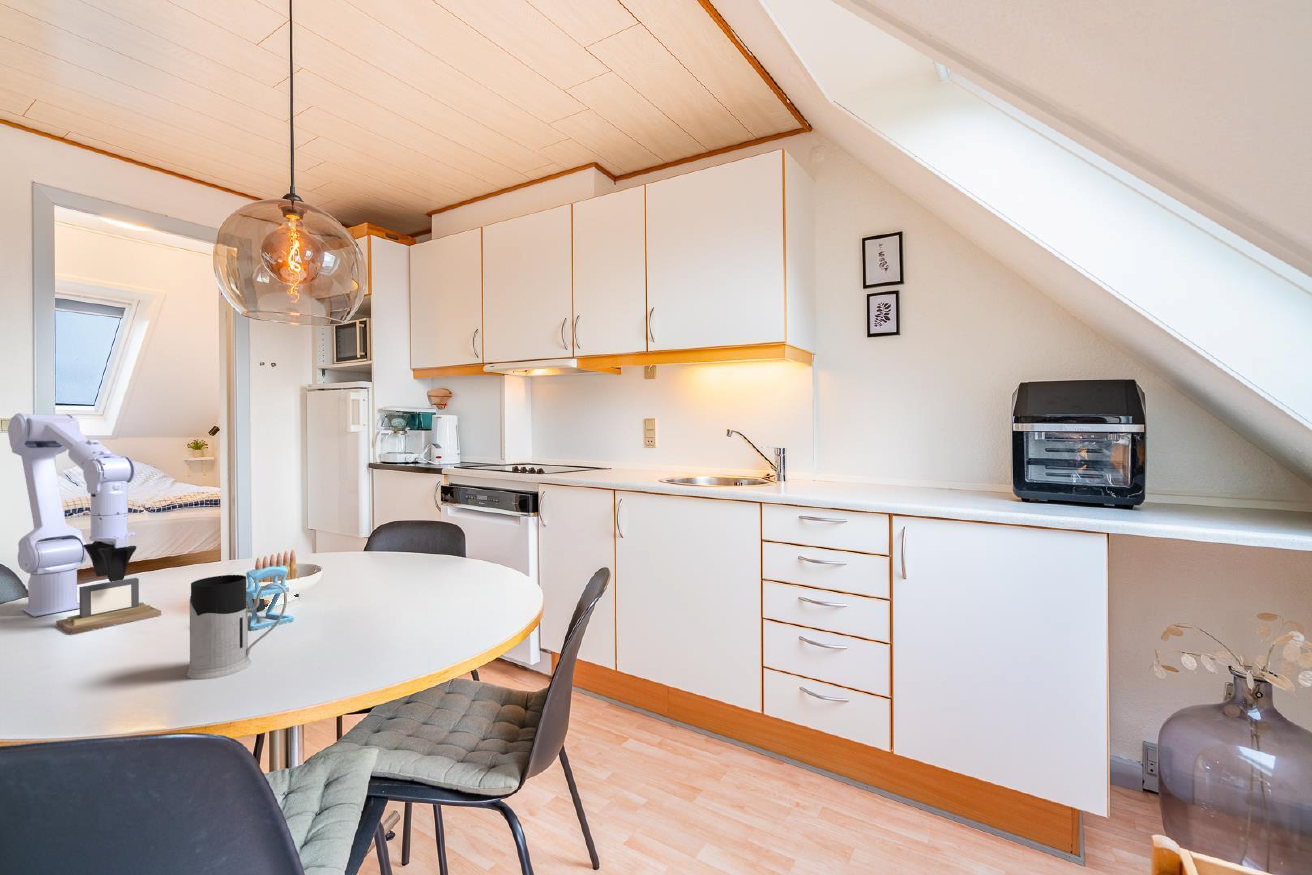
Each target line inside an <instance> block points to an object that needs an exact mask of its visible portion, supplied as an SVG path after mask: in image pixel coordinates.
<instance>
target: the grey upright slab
mask: <svg viewBox="0 0 1312 875" xmlns="http://www.w3.org/2000/svg"><path fill="white" fill-rule="evenodd" d="M139 579H140V578H138V577H131V578H127V579H126V578H125V579H123V580H118V581H112V582H110V581H108V582H102V583H96V584H91V585H89V584H88V585H84V586H79V591H78V592H79V595H78V596H79V603H80V608H79V615H80V618H85V617H90V616H95V615H100V614H105V613H110V612H115V611H120V610H125V609H130V608H135V607H139V603H140V598H139V597H140V586H139V584H140V580H139Z"/></svg>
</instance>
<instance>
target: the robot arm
mask: <svg viewBox="0 0 1312 875" xmlns="http://www.w3.org/2000/svg"><path fill="white" fill-rule="evenodd" d="M8 423H9V424H8V426H7V434H8V439H9V446H10V448H11V452H12V453H13V454H15V455H18V456H20V457H21V462H22V466H23V473H24V477H25V483H26V488H27V489H26V490H27V494H28V499H29V500H28V502H29V506H30V510H31V511H30V512H31V515H32V516H31V517H32V524H33V529H32V530H31V531H30V532H28V533H27V534H26V535H24V536H22V537H21V539H20V540H18V544H17V545H18V552H17V563H18V566H19V568H20V569H21V570H22V571H24V572H25V573H26V574H29V575H30V576H29V578H28V582H27V586H28V587H27V593H28V594H27V599H28V600H27V603H28V604H27V605H28V606H24V607H21V611H23V612H25V613H27V614H28V615H30V616H32V617H34V618H35V617H40V616H46V615H51V614H55V613H56V614H57V613H61V612H67V611H71V610H77V609H80V602H78V570H77V569H78V568H81V567H82V566H81V565H82V564H84V562H86V560H87V558H88V556H89V558H90V560H91V563H92V567H93V570H94V573H95V575H96V577H99V578H100V577H105V576H107V578H108V582H113V581H119V580H125V579H124V578H125V576H126V573H127V569H128V565H129V562H130V561H131V559H132V558H131V557H132V556H133V554H134V553H135V552H136V550H137V546H136V545H129V544H130V542H129V541H130V540H129V538H130V537H132V536H133V537H134V536H136V532H135V531H129V502H128V501H129V496H128V495H129V486H128V485H129V483H131V482H132V481H133V479H134V477H135V472H136V471H135V470H136V469H135V464H134V462H133V461H132V459H131V458H130V457H129V456H127V455H125V456H124V455H123V456H120V455H115V454H114V453H113V452H111V450H109V449H108V448H107V447H105V446H104V445H103V444H102V443H101V442H100V441H99V440H98V439H87V437H86V436H85V435H84V434H83V433H82V432H81V431H80V421H79V419H77V418H76V416H74V415H73V414H69V413H67V414H40V413H39V414H37V413H36V414H35V413H34V414H31V413H29V414H28V413H26V414H25V413H21V412H19V413H16V414H14V415H13V416H12V417H11V419H10V420H9V422H8ZM67 450H68V455H67V456H68V458H69V459H70V460H71V461H72V462H73V463H74V464H75V465H76V466H77V467H79V468H80V469H81V470H82V475H83V479H84V481H85V484H86V491H87V493H88V494H90V536H89V541H91V542H92V543H88V544H87V542H86V541H85V538H84V536H83V535H84V534H83V533H82V531H81V530H80V529H78V528H75V527H73V526H71V525H69V524H67V521H66V516H65V510H64V505H63V501H62V500H63V498H62V494H61V489H60V485H59V479H58V478H59V477H58V473H57V468H56V462H55V458H56V456H58V455H60V454H63V453H66V452H67Z"/></svg>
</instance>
